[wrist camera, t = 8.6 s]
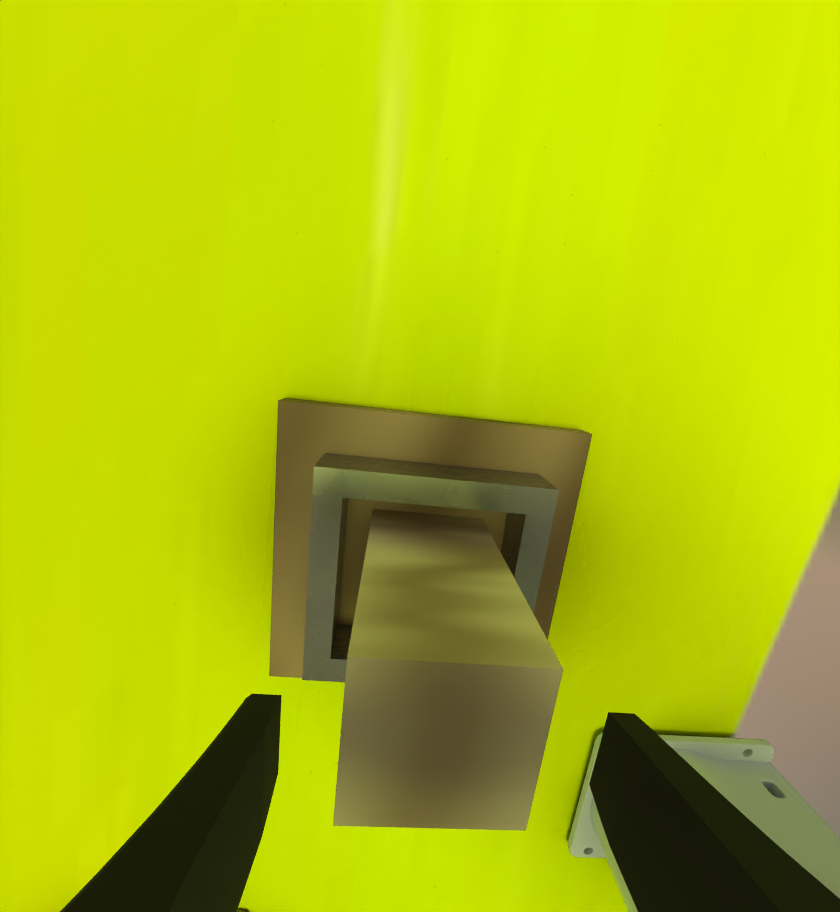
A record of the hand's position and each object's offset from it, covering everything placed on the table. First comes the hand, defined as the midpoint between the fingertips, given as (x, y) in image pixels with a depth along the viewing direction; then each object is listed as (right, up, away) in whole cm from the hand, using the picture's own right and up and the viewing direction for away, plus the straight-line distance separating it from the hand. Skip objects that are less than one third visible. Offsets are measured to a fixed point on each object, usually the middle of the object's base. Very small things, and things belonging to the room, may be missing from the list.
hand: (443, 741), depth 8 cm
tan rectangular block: (0, +2, +8) cm, 8 cm away
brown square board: (-1, +2, +9) cm, 9 cm away
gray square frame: (-1, +2, +9) cm, 9 cm away
